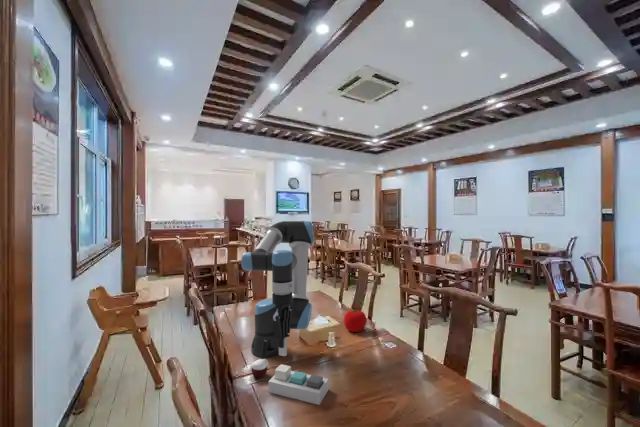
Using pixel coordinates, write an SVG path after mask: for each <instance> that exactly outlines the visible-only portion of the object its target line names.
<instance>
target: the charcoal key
mask: <svg viewBox="0 0 640 427" xmlns="http://www.w3.org/2000/svg"><path fill="white" fill-rule="evenodd" d="M310 375H311V376H310V377H309V379H308V380H307V387H310V388H314V389H318V390H319V389H320V388H321V386H322V385H323V378H324V377H323V376H320V375H315V374H310Z"/></svg>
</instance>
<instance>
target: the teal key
mask: <svg viewBox="0 0 640 427" xmlns="http://www.w3.org/2000/svg"><path fill="white" fill-rule="evenodd" d="M294 372H295V373H294V374H293V375H292V376H291V383H293V384H297V385H301V386H302V385H303V384H304V383H305V382H306V380H307V374H308V373H306V372H301V371H298V370H296V371H294Z"/></svg>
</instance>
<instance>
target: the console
mask: <svg viewBox="0 0 640 427" xmlns="http://www.w3.org/2000/svg"><path fill="white" fill-rule="evenodd" d="M295 372H296V371H295V370H291V376H292V375H293V374H294V373H295ZM311 375H312V374H308V373H307V380H308V379H309V377H310V376H311ZM307 380H306V382H305V383H304V384H303V385H302V386H301V385H297V384H293V383H291V377H290V378H289V379H288V380H287V381H286V382H284V381H280V380H276V379H275V374H274V375H272V377H271V378H270V379H269V380H268V386H267V387H268V393H270V394H275V395H279V396H282V397H287V398H290V399H293V400H297V399H298V401H302V402H305V403H308V404H309V403H310V404H314V405H318V406H320V405H321V403H322V402H323V400H324V398H325V397H326V394H327V393H328V391H329V386H330V385H329V384H330V383H329V382H330V380H329V378H326V377H323V385H322V386H321V388H320V389H319V390H318V389H314V388H310V387H307Z"/></svg>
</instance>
